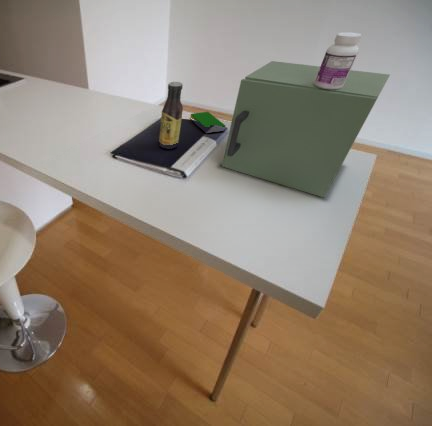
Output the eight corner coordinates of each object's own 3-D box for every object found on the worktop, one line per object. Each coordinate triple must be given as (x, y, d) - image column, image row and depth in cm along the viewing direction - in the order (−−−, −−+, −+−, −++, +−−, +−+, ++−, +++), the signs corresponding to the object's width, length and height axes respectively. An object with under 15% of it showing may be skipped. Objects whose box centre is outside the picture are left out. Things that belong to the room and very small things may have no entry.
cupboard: (324, 195, 71) (378, 96, 56) (224, 163, 85) (245, 76, 70) (341, 165, 81) (390, 74, 66) (249, 141, 95) (271, 60, 80)
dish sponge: (205, 134, 100) (207, 128, 98) (189, 119, 110) (190, 113, 109) (224, 132, 101) (226, 125, 99) (207, 117, 111) (208, 111, 110)
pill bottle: (316, 81, 65) (336, 30, 58) (344, 84, 62) (368, 32, 56) (310, 87, 61) (330, 35, 55) (339, 91, 59) (363, 37, 53)
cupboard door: (319, 209, 67) (373, 108, 52) (213, 175, 80) (231, 86, 65) (324, 195, 71) (377, 97, 56) (222, 164, 84) (242, 78, 69)
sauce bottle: (155, 144, 96) (158, 82, 83) (170, 140, 98) (176, 78, 85) (166, 153, 91) (171, 88, 79) (182, 148, 93) (190, 84, 80)
